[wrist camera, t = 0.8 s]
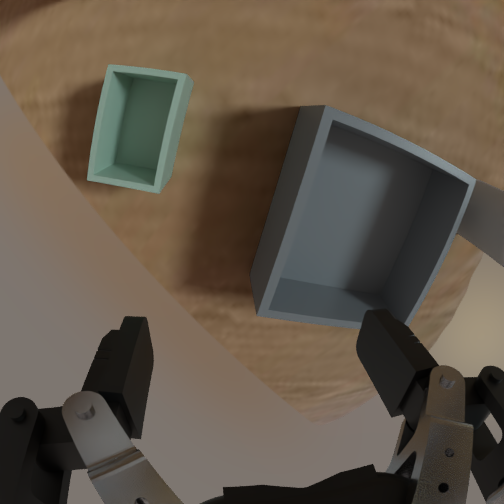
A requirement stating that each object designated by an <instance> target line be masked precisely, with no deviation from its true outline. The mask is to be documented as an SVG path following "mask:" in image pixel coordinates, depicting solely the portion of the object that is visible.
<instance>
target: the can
mask: <svg viewBox="0 0 504 504" xmlns="http://www.w3.org/2000/svg"><path fill="white" fill-rule="evenodd" d="M456 233H458V234H459V235H461V236H462V237H463V238H465V239H466V240H468V241H469V242H471V243H472V244H473V245H475V246H476V247H478V248H479V249H480V250H482V251H483V252H484V253H486V254H487V255H489V256H490V257H491V258H493V259H494V260H495V261H496V262H498V263H499V264H500V265H502V266H503V267H504V191H503V190H501V189H498V188H496V187H494V186H492V185H489V184H487V183H485V182H483V181H480V180H477V179H476V183H475V186H474V189H473V192H472V194H471V197H470V200H469V203H468V205H467V208H466V210H465V213H464V215H463V218H462V220H461V223H460V225H459V228H458V230H457V232H456Z"/></svg>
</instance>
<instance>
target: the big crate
mask: <svg viewBox="0 0 504 504" xmlns="http://www.w3.org/2000/svg"><path fill="white" fill-rule="evenodd" d="M475 183H476V179H475V178H473V177H471V176H470V175H468V174H467V173H465V172H463V171H462V170H460V169H458V168H457V167H455V166H453V165H452V164H450V163H448V162H447V161H445V160H443V159H441V158H440V157H438V156H436V155H434V154H432V153H430V152H429V151H427V150H425V149H423V148H421V147H419V146H417V145H415V144H413V143H411V142H409V141H407V140H405V139H403V138H401V137H399V136H397V135H395V134H393V133H391V132H389V131H387V130H384V129H382V128H380V127H378V126H376V125H373V124H371V123H369V122H366V121H364V120H362V119H359V118H357V117H355V116H352V115H350V114H347V113H345V112H342V111H339V110H337V109H334V108H332V107H329V106H326V105H318V106H301V107H300V110H299V113H298V117H297V120H296V123H295V127H294V130H293V133H292V137H291V140H290V143H289V147H288V150H287V153H286V157H285V160H284V163H283V166H282V170H281V173H280V176H279V180H278V183H277V186H276V189H275V193H274V196H273V199H272V203H271V206H270V209H269V212H268V216H267V219H266V222H265V226H264V229H263V232H262V235H261V239H260V242H259V245H258V248H257V252H256V255H255V258H254V262H253V265H252V268H251V271H250V281H251V286H252V292H253V298H254V303H255V309H256V315H257V316H261V317H268V318H275V319H282V320H289V321H296V322H304V323H311V324H319V325H327V326H336V327H345V328H354V329H361V325H362V321H363V318H364V314H365V312H366V311H367V310H372V309H382V308H386V309H387V310H388V311H389V312H390V313H391V314H392V316H393V317H394V318H395V319H396V320H399V321H400V322H402V323H403V324H405V325H406V326H409V324H410V323H411V321H412V319H413V318H414V316H415V314H416V312H417V311H418V309H419V307H420V305H421V304H422V302H423V300H424V298H425V296H426V294H427V293H428V291H429V289H430V287H431V285H432V283H433V281H434V279H435V277H436V275H437V273H438V271H439V269H440V267H441V265H442V263H443V261H444V259H445V257H446V255H447V253H448V250H449V248H450V246H451V244H452V242H453V239H454V237H455V235H456V232H457V230H458V228H459V225H460V223H461V220H462V218H463V215H464V213H465V210H466V208H467V205H468V203H469V200H470V197H471V194H472V192H473V189H474V186H475Z"/></svg>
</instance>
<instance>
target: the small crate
mask: <svg viewBox="0 0 504 504" xmlns="http://www.w3.org/2000/svg"><path fill="white" fill-rule="evenodd" d="M193 84H194V82H193V80H192V79H191V78H190V77H189V76H188V75H187V74H183V73H178V72H171V71H165V70H158V69H150V68H142V67H133V66H122V65H110V64H108V68H107V72H106V76H105V80H104V84H103V88H102V92H101V97H100V101H99V106H98V111H97V116H96V121H95V127H94V133H93V139H92V145H91V152H90V159H89V167H88V175H87V180H88V181H94V182H100V183H105V184H111V185H116V186H122V187H127V188H132V189H138V190H143V191H148V192H153V193H158V194H159V193H160V192H161V190H162V189H163V188H164V186H165V185H166V184H167V182H168V181H169V179H170V178H171V176H172V171H173V166H174V161H175V157H176V152H177V148H178V143H179V139H180V135H181V130H182V126H183V122H184V118H185V114H186V110H187V106H188V103H189V99H190V95H191V92H192V88H193Z"/></svg>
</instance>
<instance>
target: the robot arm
mask: <svg viewBox="0 0 504 504" xmlns="http://www.w3.org/2000/svg"><path fill="white" fill-rule="evenodd" d="M356 350H357V355H358V357H359V359H360V361H361V363H362V364H363V366H364V368H365V370H366V371H367V373H368V375H369V377H370V379H371V381H372V382H373V384H374V386H375V388H376V390H377V391H378V393H379V395H380V397H381V399H382V401H383V402H384V404H385V406H386V408H387V410H388V412H389V414H390V416H391V417H395V416H399V415H402V414H403V415H404V416H405V419H404V421H403V422H402V425H401V429H400V433H399V437H398V440H397V444H396V447H395V451H394V454H393V457H392V460H391V463H390V465H389V467H388V469H387V470H386V472H376V471H375V468H374V465H373V464H371V465H367V466H364V467H360V468H357V469H352V470H348V471H344V472H340V473H338V474H336V475H334V476H331V477H329V478H327V479H325V480H323V481H321V482H318V483H316V484H314V485H311V486H309V487H305V488H293V487H280V486H268V485H255V486H240V487H223V493H224V495H223V496H220V497H215V498H213V499H210V500H207V501H205V502H203V503H200V504H466V498H467V492H468V486H469V478H470V470H471V471H472V473H473V475H474V478H475V479H476V482H477V484H478V486H479V488H480V490H481V492H482V494H483V497H484V499H485V501H486V504H504V372H503V371H502V370H501V369H500V368H498V367H495V366H486V367H484V368H483V369H482V370H481V372H480V374H479V375H478V377H463V376H462V374H461V373H460V372H459V371H457V370H456V369H454V368H452V367H450V366H444V365H441V366H439V365H438V364H437V362H436V361H435V360H434V358H433V357H432V356H431V355H430V353H429V352H428V351H427V349H426V348H425V347H424V346H423V345H422V343H420V341H419V340H418V338H417V337H416V336H414V333H413V332H412V331H411V330H410V329H409V327H408V326H406V325H405V324H403V323H402V322H400V321H399V320H396V319H395V318H394V317H393V316H392V314H391V313H390V312H389V311H388V310H387V309H386V308H382V309H372V310H367V311H366V312H365V314H364V318H363V321H362V325H361V329H360V332H359V336H358V339H357V344H356ZM153 359H154V358H153V348H152V343H151V338H150V332H149V327H148V321H147V318H146V317H132V316H125V317H124V319H123V322H122V324H121V327H120V330H111V331H110V332H109V333H108V334H107V335H106V336H104V337H103V338H102V340H101V343H100V345H99V347H98V351H97V352H96V355H95V357H94V360H93V362H92V364H91V367H90V369H89V372H88V375H87V377H86V380H85V382H84V385H83V387H82V390H81V392H78V393H75V394H73V395H71V396H70V397H69V398H68V399H67V400H66V401H65V402H64V404H63V406H61V407H54V408H44V409H38V408H37V406H36V405H35V403H34V402H33V401H32V400H30V399H28V398H25V397H18V398H14V399H12V400H10V401H8V402H7V403H6V404H5V405H4V406H3V408H2V410H1V412H0V504H67V498H68V491H69V484H70V478H71V471H72V470H76V469H88V472H87V473H88V476H89V478H90V480H91V481H92V484H93V485H94V487H95V489H96V490H97V492H98V494H99V495H100V497H101V499H102V500H103V502H104V504H183V503H182V501H181V500H180V499H179V498H178V497H177V496H176V495H175V493H174V492H173V491H172V490H171V489H170V488H169V486H168V485H167V484H166V483H165V482H164V480H163V479H162V478H161V477H160V476H159V474H158V473H157V472H156V471H155V469H154V468H153V467H152V465H151V464H150V463H149V461H148V460H147V459H146V458H145V456H144V455H143V454H142V452H141V451H140V450H137V449H136V447H135V446H134V445H133V443H132V442H131V438H135V439H141V435H142V428H143V421H144V415H145V409H146V403H147V397H148V392H149V386H150V381H151V375H152V370H153V362H154V360H153ZM490 413H491V414H492V415H493V417H494V418H495V420H496V421H497V423H498V425H499V426H500V428H501V430H502V439H501V441H500V443H499V444H497V442H496V440H495V439H494V437H493V435H492V434H491V432H490V430H489V429H488V427H487V426H486V424H485V422H484V420H485V419H486V418H487V417H488V415H489V414H490Z"/></svg>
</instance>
